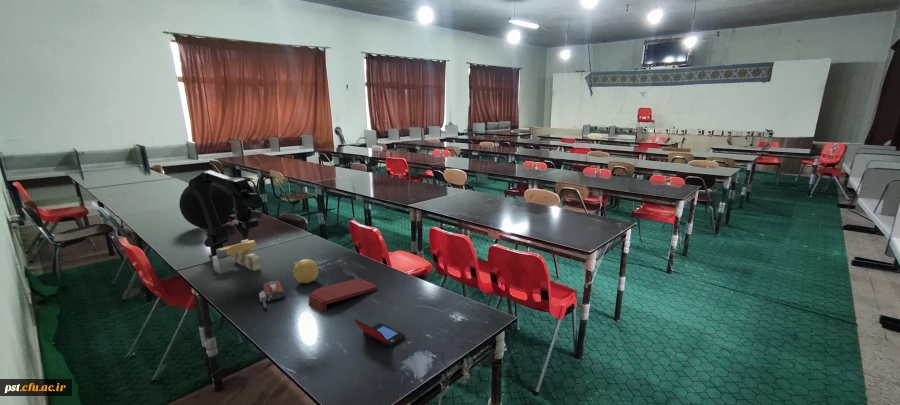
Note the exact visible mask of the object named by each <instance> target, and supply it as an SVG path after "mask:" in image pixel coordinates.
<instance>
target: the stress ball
mask: <svg viewBox="0 0 900 405" xmlns="http://www.w3.org/2000/svg"><path fill="white" fill-rule="evenodd" d="M318 266H319V265H318V264H317V262H315V261H314V260H312V259H310V258H307V259H306V258H304V259H301V260H299V261H297V262H296V263H295V265H294V266H293V269H292V270H293V274H292V275H293V278H294V279H296V281H297V282H298V283H303V284H310V283H311V282H313V281H314V280H315V279H316V278H317V277H318V275H319V267H318Z"/></svg>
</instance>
